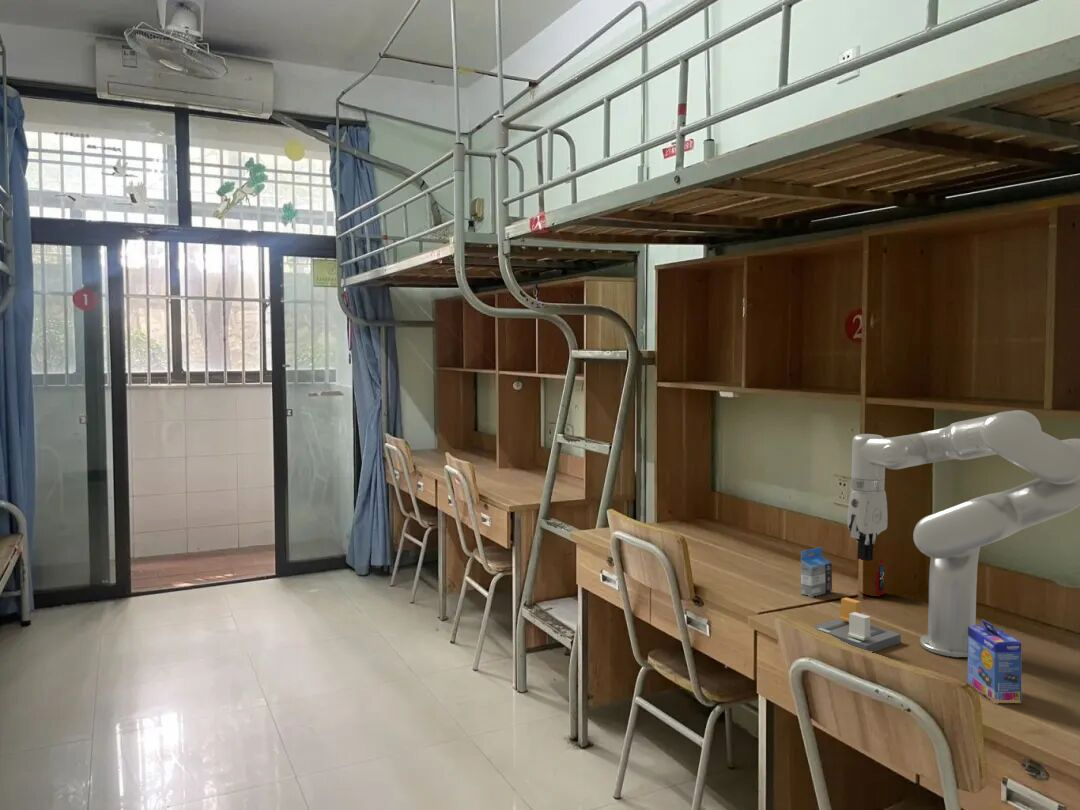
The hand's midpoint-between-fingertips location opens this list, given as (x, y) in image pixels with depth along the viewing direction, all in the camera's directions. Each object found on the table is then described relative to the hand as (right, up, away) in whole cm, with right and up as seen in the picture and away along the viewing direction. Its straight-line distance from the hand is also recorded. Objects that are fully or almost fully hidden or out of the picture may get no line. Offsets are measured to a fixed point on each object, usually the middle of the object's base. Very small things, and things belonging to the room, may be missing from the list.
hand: (865, 559), depth 197 cm
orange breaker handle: (-5, -14, -3) cm, 15 cm away
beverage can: (+13, -15, +27) cm, 33 cm away
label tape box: (-2, -15, +28) cm, 32 cm away
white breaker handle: (-7, -15, -14) cm, 21 cm away
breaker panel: (-6, -17, -8) cm, 20 cm away
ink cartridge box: (+9, -19, -39) cm, 44 cm away
